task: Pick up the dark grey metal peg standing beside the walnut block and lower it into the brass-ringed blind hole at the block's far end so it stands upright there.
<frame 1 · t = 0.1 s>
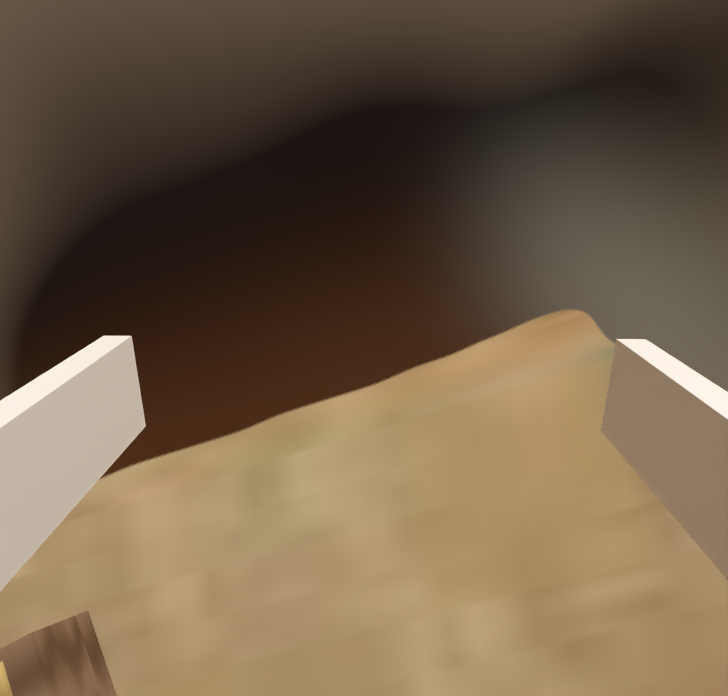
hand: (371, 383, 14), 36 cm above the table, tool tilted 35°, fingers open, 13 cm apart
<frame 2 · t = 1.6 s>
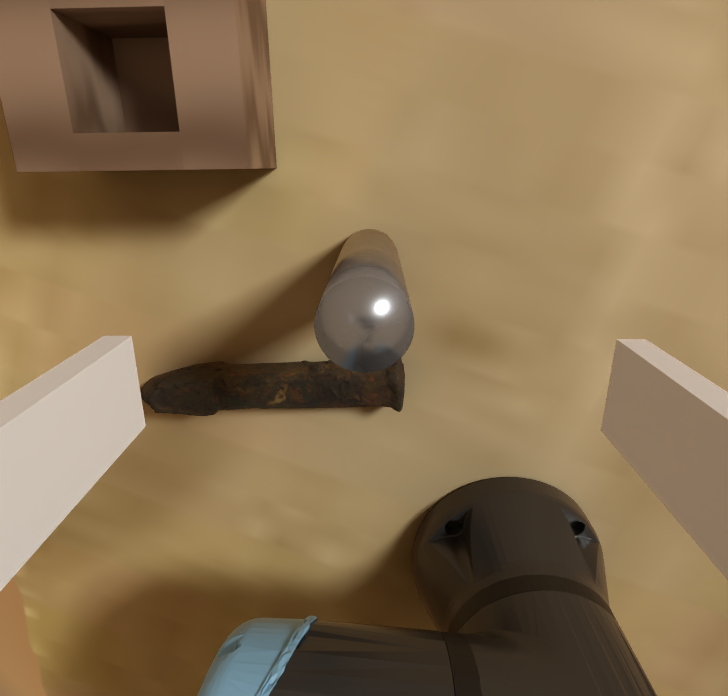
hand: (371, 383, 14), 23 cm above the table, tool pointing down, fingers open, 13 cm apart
peg: (369, 258, 36), on the table
hole block: (166, 11, 31), on the table
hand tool: (279, 379, 39), on the table
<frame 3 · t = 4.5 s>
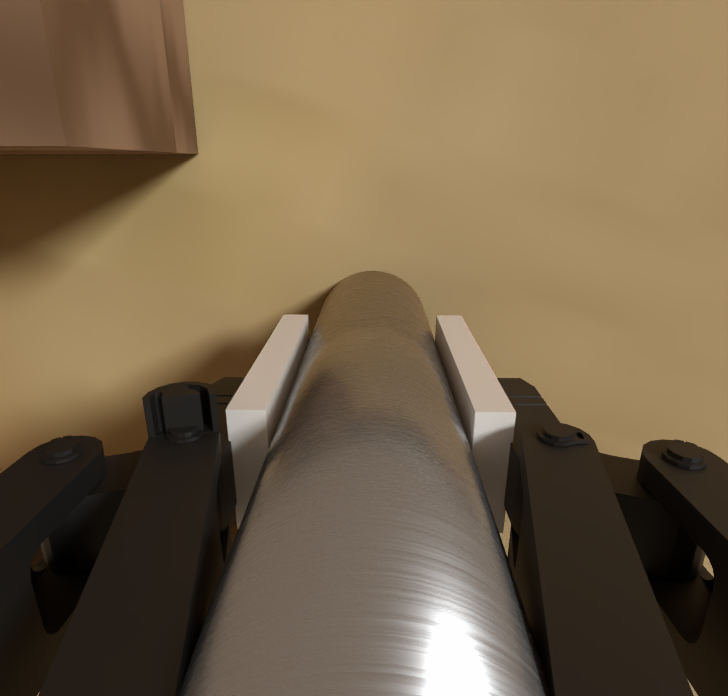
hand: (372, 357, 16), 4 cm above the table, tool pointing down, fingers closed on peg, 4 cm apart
peg: (372, 323, 20), on the table, touching gripper
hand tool: (220, 526, 23), on the table
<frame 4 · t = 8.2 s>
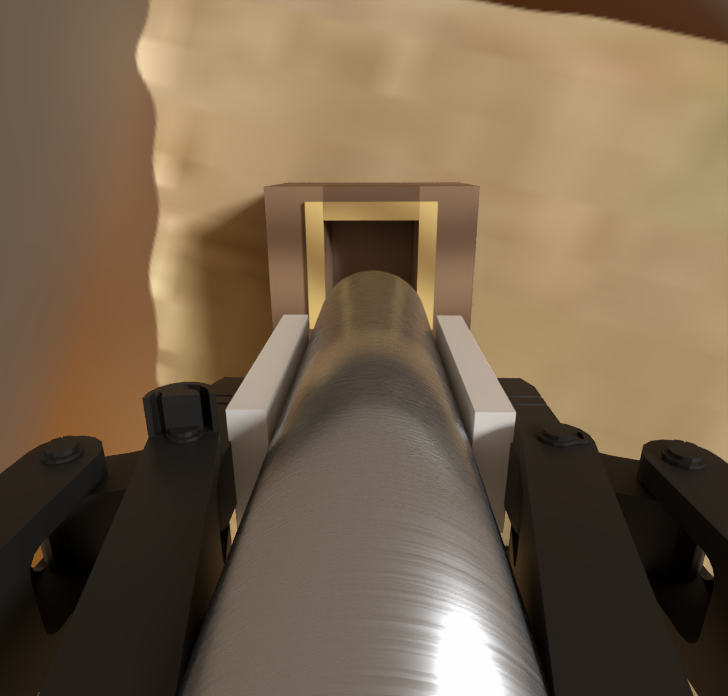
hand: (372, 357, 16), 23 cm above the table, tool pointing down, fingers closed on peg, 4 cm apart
peg: (372, 323, 19), point 19 cm above the table, touching gripper
hole block: (371, 307, 39), on the table
when the fingers open (10 cm above the table, at t = 12.0 s): peg drops 3 cm, resting on hole block.
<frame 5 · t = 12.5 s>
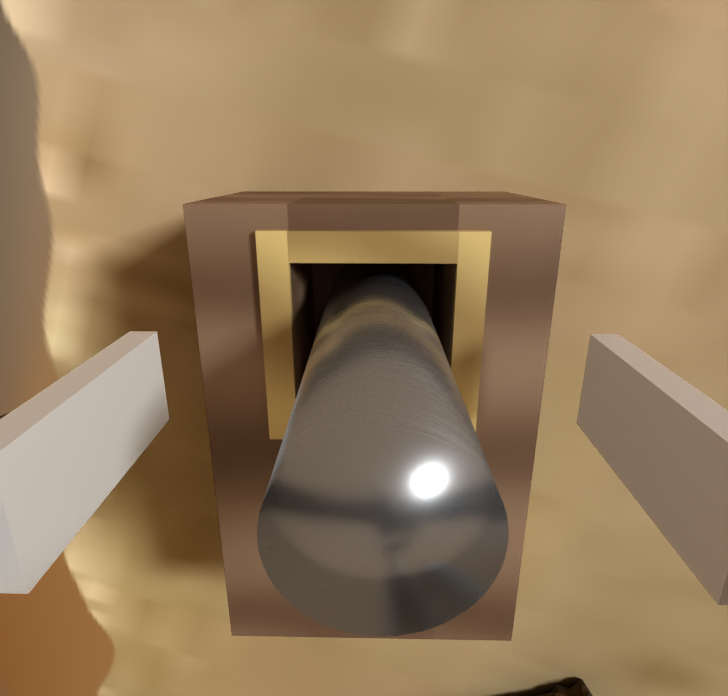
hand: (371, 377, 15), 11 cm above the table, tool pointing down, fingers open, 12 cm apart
peg: (374, 297, 23), point 2 cm above the table, touching hole block
hole block: (372, 373, 27), on the table
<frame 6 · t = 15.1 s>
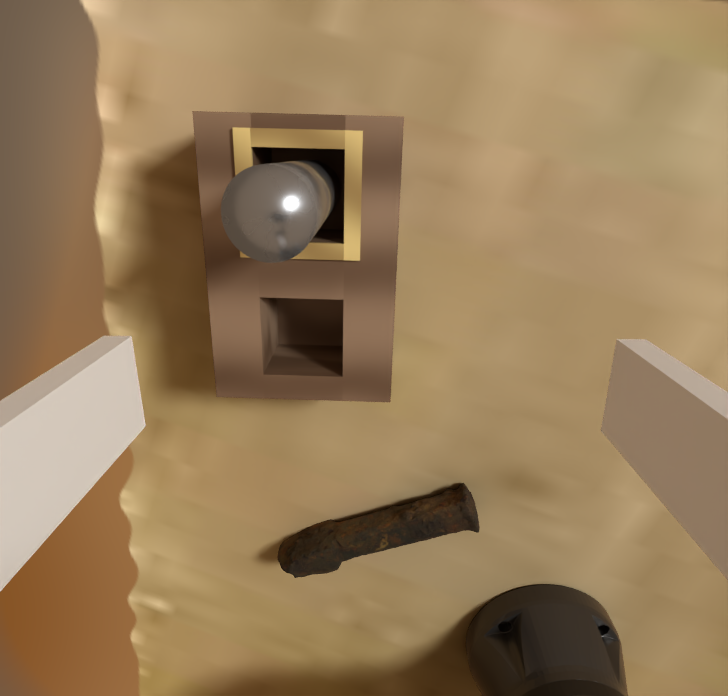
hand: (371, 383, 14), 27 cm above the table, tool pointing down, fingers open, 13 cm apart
peg: (312, 189, 36), point 2 cm above the table, touching hole block
hole block: (314, 248, 40), on the table
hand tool: (376, 520, 50), on the table
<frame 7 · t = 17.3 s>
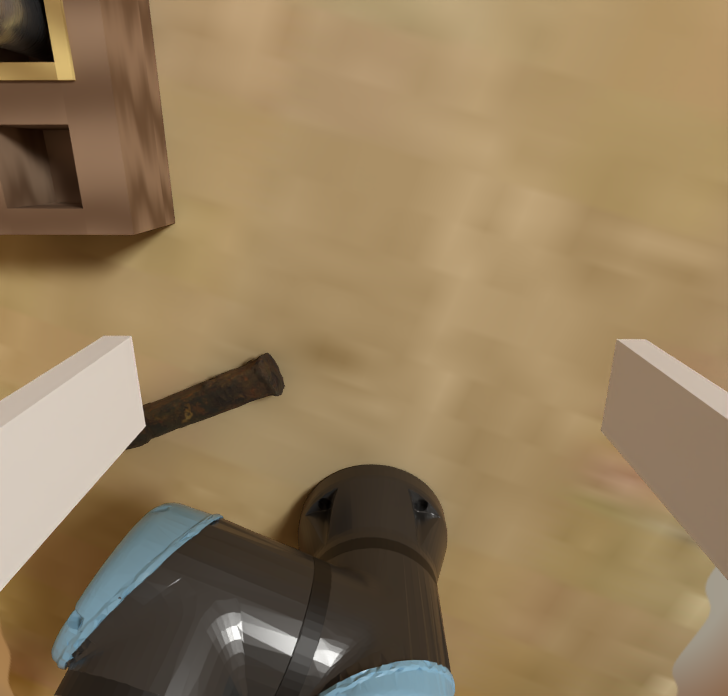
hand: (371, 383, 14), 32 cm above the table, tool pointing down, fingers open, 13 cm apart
peg: (62, 36, 38), point 2 cm above the table, touching hole block
hole block: (86, 107, 41), on the table
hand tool: (196, 401, 50), on the table
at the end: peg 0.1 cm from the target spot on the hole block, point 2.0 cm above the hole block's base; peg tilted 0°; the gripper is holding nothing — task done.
